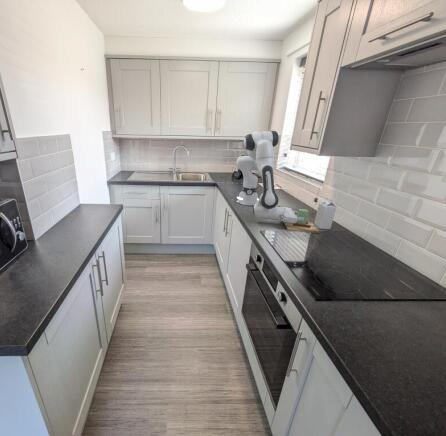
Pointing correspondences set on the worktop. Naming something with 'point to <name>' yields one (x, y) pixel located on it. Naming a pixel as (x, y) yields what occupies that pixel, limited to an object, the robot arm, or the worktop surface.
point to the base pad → (301, 227)
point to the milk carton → (325, 214)
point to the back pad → (301, 214)
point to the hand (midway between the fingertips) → (301, 216)
